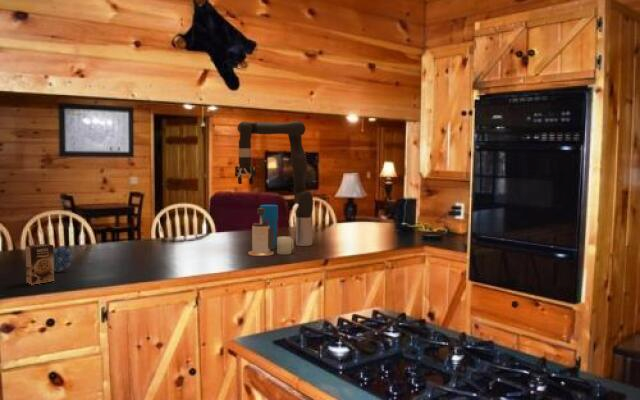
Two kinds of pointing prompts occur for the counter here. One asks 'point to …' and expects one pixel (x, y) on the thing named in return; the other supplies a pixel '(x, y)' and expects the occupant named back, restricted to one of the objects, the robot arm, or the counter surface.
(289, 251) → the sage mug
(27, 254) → the coffee box
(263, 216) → the blue tapered block
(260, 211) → the plunger
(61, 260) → the grapes
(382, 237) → the counter surface
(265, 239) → the beige cylinder with base
